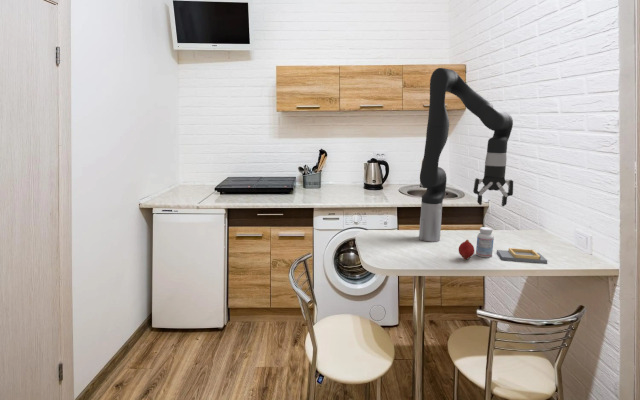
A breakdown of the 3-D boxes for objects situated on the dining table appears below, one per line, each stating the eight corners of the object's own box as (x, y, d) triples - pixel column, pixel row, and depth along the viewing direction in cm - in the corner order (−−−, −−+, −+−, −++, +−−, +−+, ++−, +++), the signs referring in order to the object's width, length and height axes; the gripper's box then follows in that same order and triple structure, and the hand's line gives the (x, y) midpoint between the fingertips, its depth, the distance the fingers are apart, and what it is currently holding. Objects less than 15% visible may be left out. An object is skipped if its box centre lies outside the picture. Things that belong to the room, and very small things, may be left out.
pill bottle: (479, 252, 166) (482, 225, 164) (494, 255, 161) (497, 228, 159) (473, 255, 162) (475, 228, 160) (487, 258, 157) (490, 231, 155)
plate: (502, 260, 156) (502, 254, 155) (496, 252, 166) (497, 247, 165) (547, 263, 153) (547, 257, 152) (538, 255, 162) (539, 249, 162)
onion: (455, 257, 159) (456, 237, 157) (469, 256, 159) (471, 237, 158) (461, 261, 153) (463, 241, 152) (476, 261, 154) (477, 241, 152)
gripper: (477, 164, 154) (473, 205, 157) (517, 166, 151) (513, 208, 154) (474, 163, 161) (471, 202, 164) (512, 164, 158) (508, 204, 161)
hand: (491, 205), depth 159 cm, fingers open, 8 cm apart
